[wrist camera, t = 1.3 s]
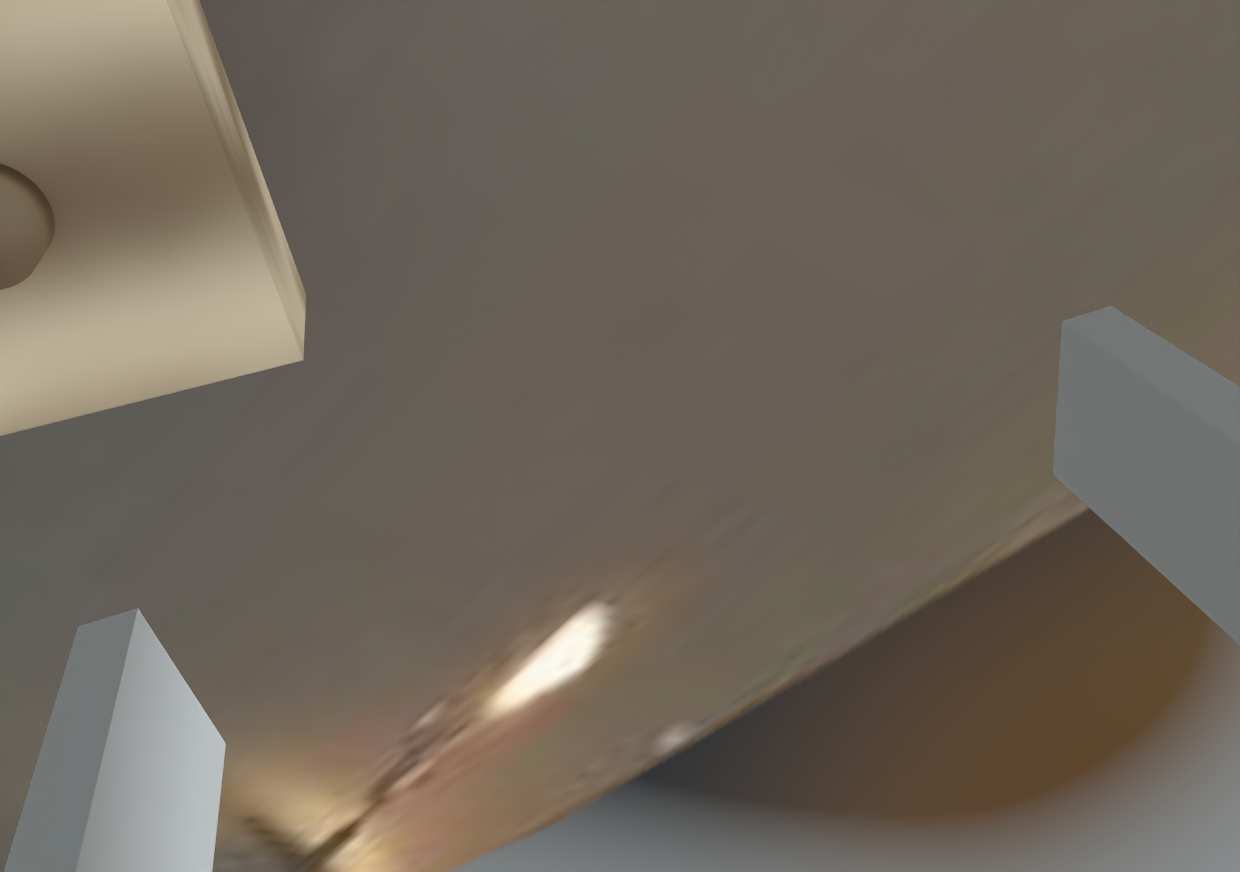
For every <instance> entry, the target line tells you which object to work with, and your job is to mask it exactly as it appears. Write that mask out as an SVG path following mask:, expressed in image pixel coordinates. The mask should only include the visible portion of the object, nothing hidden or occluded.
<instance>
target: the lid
mask: <svg viewBox="0 0 1240 872" xmlns="http://www.w3.org/2000/svg"><path fill="white" fill-rule="evenodd" d="M305 310H306V293H305V290H304V288H303V285H302V282H301V279H300V276H299V274H298V271H297V268H296V265H295V263H294V260H293V257H292V254H291V252H290V249H289V246H288V243H287V241H286V238H285V235H284V232H283V230H282V227H281V224H280V221H279V219H278V216H277V213H276V210H275V208H274V205H273V202H272V199H271V197H270V194H269V191H268V188H267V186H266V183H265V180H264V177H263V175H262V172H261V169H260V166H259V164H258V161H257V158H256V155H255V153H254V150H253V147H252V144H251V142H250V139H249V136H248V133H247V131H246V128H245V125H244V122H243V119H242V117H241V114H240V111H239V108H238V106H237V103H236V100H235V97H234V95H233V92H232V89H231V86H230V84H229V81H228V78H227V75H226V73H225V70H224V67H223V64H222V62H221V59H220V56H219V53H218V51H217V48H216V45H215V42H214V40H213V37H212V34H211V31H210V29H209V26H208V23H207V20H206V18H205V15H204V12H203V9H202V7H201V4H200V1H199V0H0V436H1V435H5V434H9V433H13V432H17V431H21V430H25V429H29V428H33V427H37V426H41V425H45V424H49V423H53V422H57V421H61V420H65V419H69V418H73V417H77V416H81V415H85V414H89V413H93V412H97V411H101V410H105V409H109V408H113V407H117V406H121V405H125V404H129V403H133V402H137V401H141V400H146V399H150V398H154V397H158V396H162V395H166V394H170V393H174V392H178V391H182V390H186V389H190V388H194V387H198V386H202V385H206V384H210V383H214V382H218V381H222V380H226V379H230V378H234V377H238V376H242V375H246V374H250V373H254V372H258V371H262V370H266V369H270V368H274V367H278V366H282V365H286V364H290V363H294V362H298V361H302V360H303V354H304V332H305Z"/></svg>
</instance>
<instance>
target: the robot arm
mask: <svg viewBox="0 0 1240 872" xmlns="http://www.w3.org/2000/svg"><path fill="white" fill-rule="evenodd" d="M1053 475H1054V476H1056V477H1057V478H1058V479H1059V480H1060V481H1061V482H1062V483H1063V484H1064V485H1065V486H1066V487H1068V488H1069V489H1070V490H1071V491H1072V492H1073V493H1074V494H1075V495H1076V496H1077V497H1079V498H1080V499H1081V500H1082V501H1083V502H1084V503H1085V504H1086V505H1087V506H1088V507H1089V508H1091V509H1092V510H1093V511H1094V512H1095V513H1096V514H1097V515H1098V516H1099V517H1101V518H1102V519H1103V520H1104V521H1105V522H1106V523H1107V524H1108V525H1109V526H1110V527H1111V528H1113V529H1114V530H1115V531H1116V532H1117V533H1118V534H1119V535H1120V536H1121V537H1122V538H1123V539H1125V540H1126V541H1127V542H1128V543H1129V544H1130V545H1131V546H1132V547H1134V549H1135V550H1136V551H1138V552H1139V553H1140V554H1141V555H1142V556H1143V557H1144V558H1145V559H1146V560H1147V561H1149V562H1150V563H1151V564H1152V565H1153V566H1154V567H1155V568H1156V569H1157V570H1158V571H1159V572H1161V573H1162V574H1163V575H1164V576H1165V577H1166V578H1167V579H1168V580H1169V581H1170V582H1171V583H1173V584H1174V585H1175V586H1176V587H1177V588H1178V589H1179V590H1180V591H1181V592H1182V593H1184V594H1185V595H1186V596H1187V597H1188V598H1189V599H1190V600H1191V601H1192V602H1193V603H1195V604H1196V605H1197V606H1198V607H1199V608H1200V609H1201V610H1202V611H1203V612H1204V613H1206V614H1207V615H1208V616H1209V617H1210V618H1211V619H1212V620H1213V621H1214V622H1215V623H1216V624H1218V625H1219V626H1220V627H1221V628H1222V629H1223V630H1224V631H1225V632H1226V633H1227V634H1228V635H1230V636H1231V637H1232V638H1233V639H1234V640H1235V641H1236V642H1237V643H1238V644H1239V645H1240V387H1239V386H1237V385H1236V384H1234V383H1232V382H1231V381H1229V380H1228V379H1226V378H1225V377H1223V376H1221V375H1220V374H1218V373H1217V372H1215V371H1213V370H1212V369H1210V368H1209V367H1207V366H1206V365H1204V364H1202V363H1201V362H1199V361H1198V360H1196V359H1194V358H1193V357H1191V356H1190V355H1188V354H1187V353H1185V352H1183V351H1182V350H1180V349H1179V348H1177V347H1175V346H1174V345H1172V344H1171V343H1169V342H1168V341H1166V340H1164V339H1163V338H1161V337H1160V336H1158V335H1156V334H1155V333H1153V332H1152V331H1150V330H1149V329H1147V328H1145V327H1144V326H1142V325H1141V324H1139V323H1138V322H1136V321H1134V320H1133V319H1131V318H1130V317H1128V316H1126V315H1125V314H1123V313H1122V312H1120V311H1119V310H1117V309H1115V308H1114V307H1112V306H1109V307H1106V308H1103V309H1100V310H1096V311H1093V312H1090V313H1087V314H1083V315H1080V316H1077V317H1074V318H1071V319H1067V320H1064V321H1062V333H1061V350H1060V366H1059V382H1058V398H1057V414H1056V431H1055V447H1054V463H1053ZM225 746H226V743H225V742H224V740H223V739H222V737H221V736H220V734H219V733H218V731H217V729H216V728H215V726H214V725H213V723H212V722H211V720H210V719H209V717H208V716H207V714H206V713H205V711H204V709H203V708H202V706H201V705H200V703H199V702H198V700H197V699H196V697H195V696H194V694H193V693H192V691H191V689H190V688H189V686H188V685H187V683H186V682H185V680H184V679H183V677H182V676H181V674H180V672H179V671H178V669H177V668H176V666H175V665H174V663H173V662H172V660H171V659H170V657H169V656H168V654H167V652H166V651H165V649H164V648H163V646H162V645H161V643H160V642H159V640H158V639H157V637H156V635H155V634H154V632H153V631H152V629H151V628H150V626H149V625H148V623H147V622H146V620H145V619H144V617H143V615H142V614H141V612H140V611H139V609H138V608H137V609H133V610H130V611H127V612H124V613H121V614H117V615H114V616H111V617H108V618H104V619H101V620H98V621H95V622H92V623H88V624H85V625H82V626H79V627H78V629H77V633H76V636H75V639H74V642H73V646H72V649H71V652H70V656H69V659H68V662H67V665H66V669H65V672H64V675H63V679H62V682H61V685H60V689H59V692H58V695H57V698H56V702H55V705H54V708H53V712H52V715H51V718H50V721H49V725H48V728H47V731H46V735H45V738H44V741H43V745H42V748H41V751H40V754H39V758H38V761H37V764H36V768H35V771H34V774H33V777H32V781H31V784H30V787H29V791H28V794H27V797H26V801H25V804H24V807H23V810H22V814H21V817H20V820H19V824H18V827H17V830H16V833H15V837H14V840H13V843H12V847H11V850H10V853H9V857H8V860H7V863H6V866H5V870H4V872H212V867H213V858H214V849H215V839H216V830H217V821H218V811H219V802H220V793H221V784H222V774H223V765H224V756H225Z"/></svg>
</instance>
